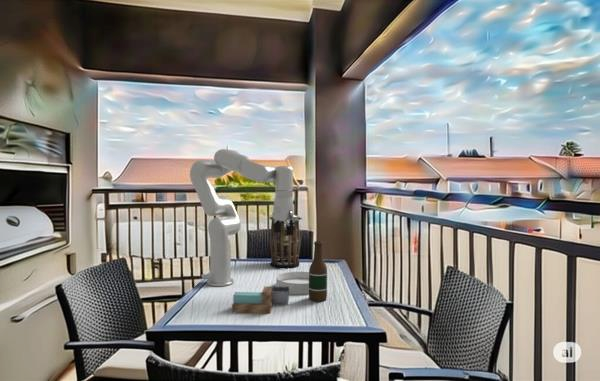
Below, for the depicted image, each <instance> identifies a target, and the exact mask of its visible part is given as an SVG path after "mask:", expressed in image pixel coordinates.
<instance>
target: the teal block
mask: <svg viewBox="0 0 600 381" xmlns="http://www.w3.org/2000/svg"><path fill="white" fill-rule="evenodd" d="M232 297H233V298H232V299H233V301H232V302H233V303H238V304H262V291H260V292H259V291H249V292H248V291H235V292H234V293H233V295H232ZM233 303H232V304H233Z"/></svg>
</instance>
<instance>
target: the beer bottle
mask: <svg viewBox="0 0 600 381" xmlns="http://www.w3.org/2000/svg"><path fill="white" fill-rule="evenodd" d="M323 244H324V242H323V241H321V240H315V241H314V243H313V245H314V250H313V251H314V252H313V261H312V262H311V264H310V266H309V270H308V272H309V294H308V300H310V301H311V302H315V303H316V302H318V303H319V302H320V303H321V302H326V301H327V298H328V269H327V268H328V267H327V265H326V263H325V261H324V258H323V257H324V256H323Z"/></svg>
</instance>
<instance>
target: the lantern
mask: <svg viewBox="0 0 600 381" xmlns="http://www.w3.org/2000/svg"><path fill="white" fill-rule="evenodd" d="M268 219H269V220H271V223H270V224H271V225H270V233H269V247H270V255H271V262H270V265H271V266H270V267H272V268H274V267H275V268H274V269H280V268H285V269H284V270H287V269H288V268H289V269H295V268H298V267H299V266H300V262H299V261H300V260H299V257H300V252H301V242H302V241H301V232H300V220H302V217H300V216H298V215H296V220H295V223H294V226H293V235H286V226H288V225H287V223H286V221H281V222H280V223H281V232H277V233H275V232H274V224H275V223H274V220H273V215H272V216H270V217H268ZM289 222H290V221H289ZM278 245H279V246H278ZM284 246H285V248H284ZM278 248H279V252H278ZM284 250H285V251H284ZM278 255H279V256H278Z"/></svg>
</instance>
